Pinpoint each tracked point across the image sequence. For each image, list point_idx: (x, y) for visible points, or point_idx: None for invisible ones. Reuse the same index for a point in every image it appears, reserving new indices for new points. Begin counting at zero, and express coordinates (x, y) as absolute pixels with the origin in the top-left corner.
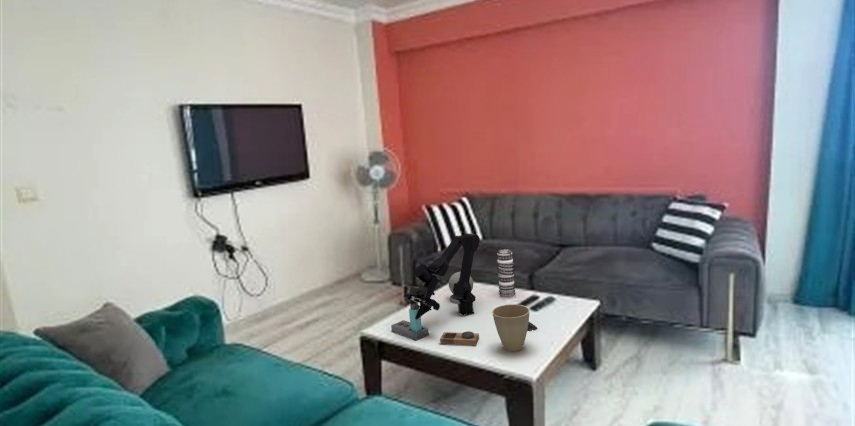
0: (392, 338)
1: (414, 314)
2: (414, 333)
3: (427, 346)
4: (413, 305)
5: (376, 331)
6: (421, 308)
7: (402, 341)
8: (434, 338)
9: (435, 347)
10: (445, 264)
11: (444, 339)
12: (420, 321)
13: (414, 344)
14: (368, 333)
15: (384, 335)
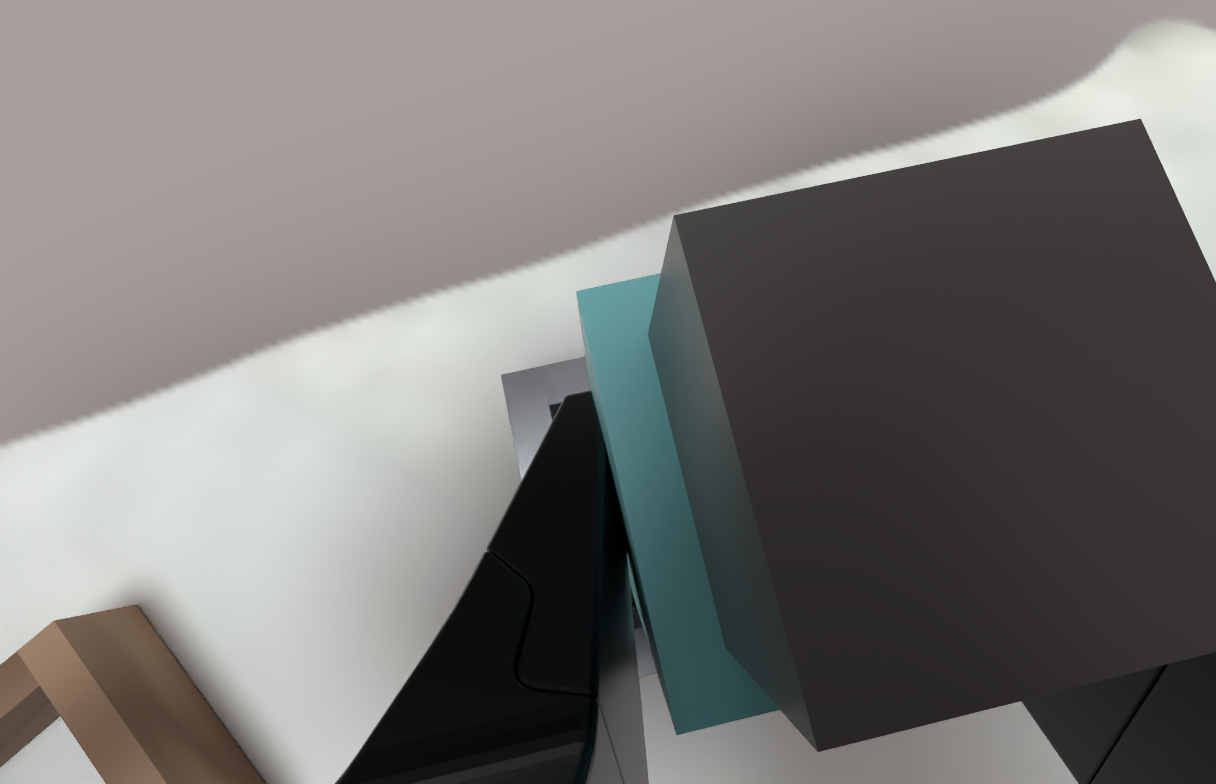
0: (816, 183)
1: (584, 343)
2: (541, 370)
3: (234, 419)
4: (838, 266)
5: (1185, 124)
6: (402, 727)
7: (632, 238)
8: (384, 656)
9: (116, 490)
10: None
11: None
12: (631, 582)
13: (427, 314)
14: (1176, 24)
15: (982, 147)
